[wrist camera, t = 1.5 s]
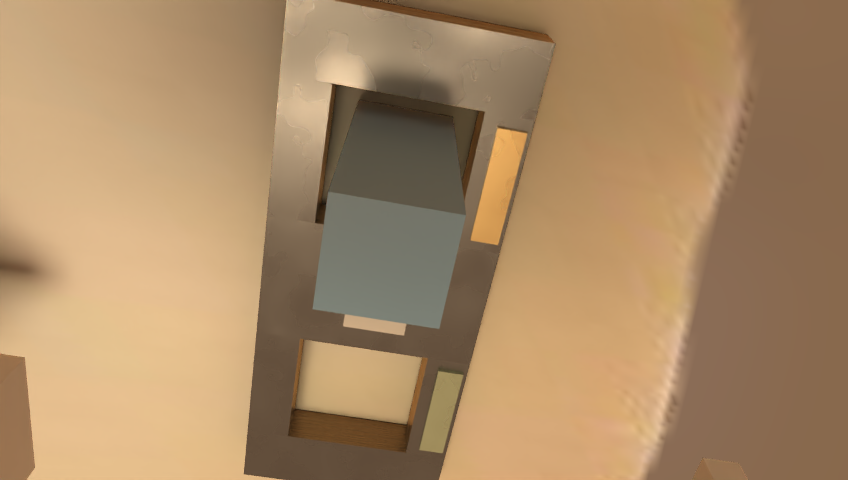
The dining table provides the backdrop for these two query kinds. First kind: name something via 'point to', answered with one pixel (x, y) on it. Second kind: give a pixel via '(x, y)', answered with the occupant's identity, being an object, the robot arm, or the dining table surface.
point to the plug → (392, 221)
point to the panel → (304, 218)
